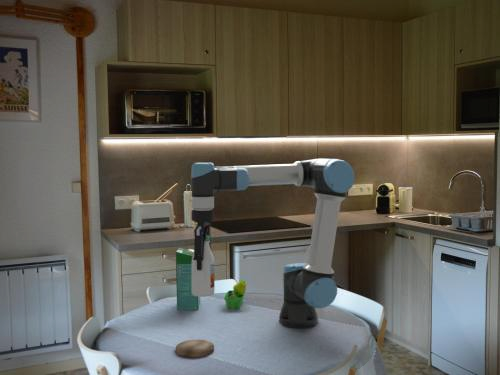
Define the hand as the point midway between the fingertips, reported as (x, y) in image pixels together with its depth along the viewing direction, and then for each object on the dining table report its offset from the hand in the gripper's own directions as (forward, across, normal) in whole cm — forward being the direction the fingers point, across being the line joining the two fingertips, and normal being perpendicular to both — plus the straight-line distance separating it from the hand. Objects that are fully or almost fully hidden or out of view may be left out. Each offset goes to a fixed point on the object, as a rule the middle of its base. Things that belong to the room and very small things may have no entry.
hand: (202, 276), depth 182 cm
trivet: (+26, 0, -3) cm, 26 cm away
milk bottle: (+6, 0, 0) cm, 6 cm away
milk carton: (+26, -47, -17) cm, 56 cm away
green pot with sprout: (+26, -50, +3) cm, 57 cm away
